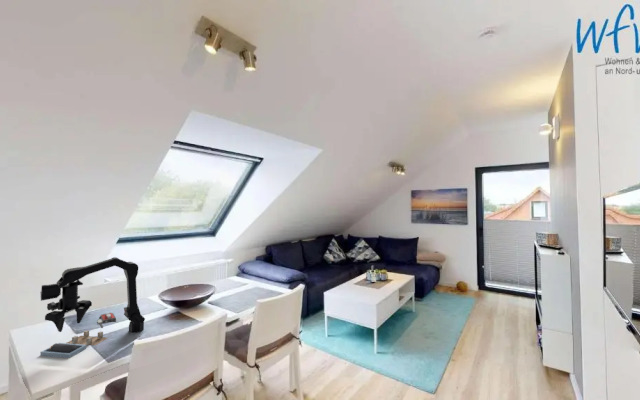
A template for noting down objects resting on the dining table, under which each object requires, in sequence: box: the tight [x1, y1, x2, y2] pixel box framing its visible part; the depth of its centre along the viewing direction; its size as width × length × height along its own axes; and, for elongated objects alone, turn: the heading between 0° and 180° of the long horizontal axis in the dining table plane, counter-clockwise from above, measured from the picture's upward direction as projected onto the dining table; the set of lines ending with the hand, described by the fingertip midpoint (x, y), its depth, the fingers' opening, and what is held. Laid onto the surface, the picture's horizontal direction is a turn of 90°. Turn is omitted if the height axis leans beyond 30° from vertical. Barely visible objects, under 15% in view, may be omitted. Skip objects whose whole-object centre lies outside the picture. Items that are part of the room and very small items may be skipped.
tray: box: [40, 342, 87, 359], centre depth 135 cm, size 15×9×3 cm, turn 85°
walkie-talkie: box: [97, 312, 117, 329], centre depth 171 cm, size 9×4×20 cm
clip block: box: [66, 330, 108, 346], centre depth 147 cm, size 16×8×4 cm, turn 85°
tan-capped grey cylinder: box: [49, 342, 77, 353], centre depth 136 cm, size 11×4×4 cm, turn 84°
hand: (69, 327), depth 138 cm, fingers open, 9 cm apart
